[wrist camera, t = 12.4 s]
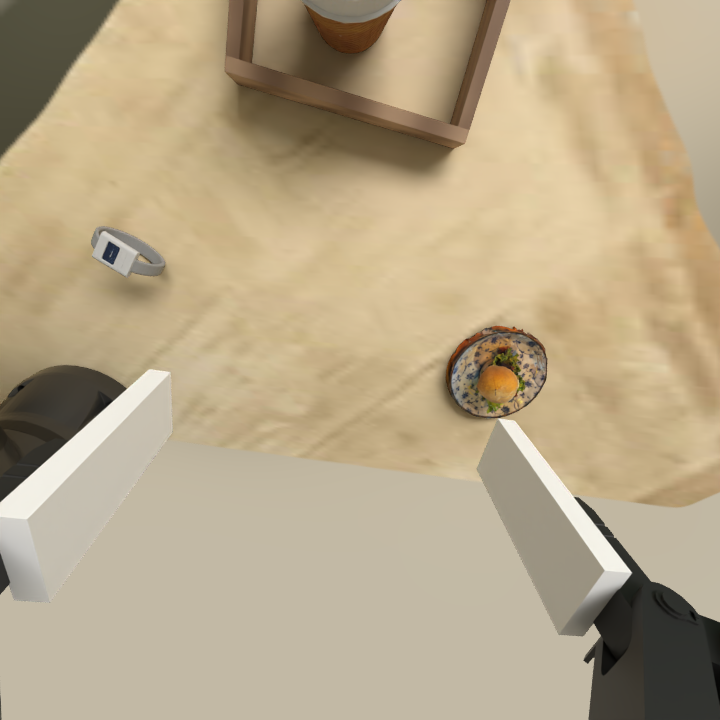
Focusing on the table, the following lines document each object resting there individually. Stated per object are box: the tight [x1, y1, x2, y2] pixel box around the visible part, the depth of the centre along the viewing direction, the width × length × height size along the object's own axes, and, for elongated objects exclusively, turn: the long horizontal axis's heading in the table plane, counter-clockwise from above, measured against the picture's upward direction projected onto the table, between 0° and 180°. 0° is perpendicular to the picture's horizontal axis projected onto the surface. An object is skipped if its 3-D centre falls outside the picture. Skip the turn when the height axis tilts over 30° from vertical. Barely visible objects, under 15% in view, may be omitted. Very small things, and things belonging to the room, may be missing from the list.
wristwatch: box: [91, 226, 165, 278], centre depth 34 cm, size 6×3×5 cm, turn 54°
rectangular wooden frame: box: [225, 0, 510, 148], centre depth 27 cm, size 20×15×4 cm
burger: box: [446, 326, 547, 418], centre depth 40 cm, size 12×12×8 cm
